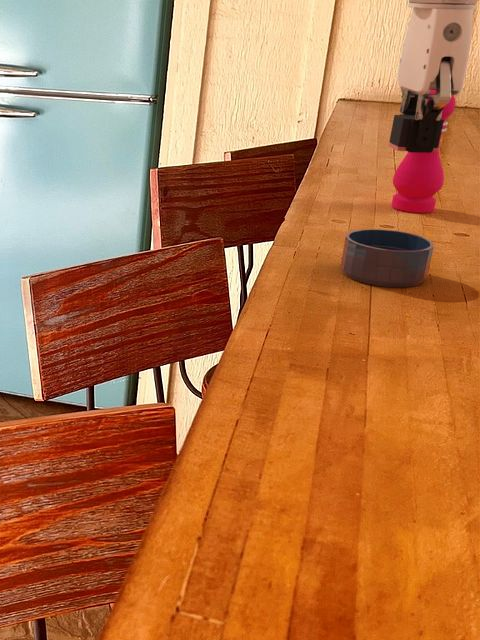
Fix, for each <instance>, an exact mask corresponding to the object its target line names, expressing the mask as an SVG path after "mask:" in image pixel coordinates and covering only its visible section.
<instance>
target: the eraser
mask: <svg viewBox="0 0 480 640" xmlns="http://www.w3.org/2000/svg"><path fill="white" fill-rule="evenodd" d="M412 119H415V115H400V114H394V115H393V120H392V126H391V129H390V130H391V132H390V136H389V140H388V147H390V148H392V149H393V150H395V151H396V152H397V151H398V152H407V151H406V146H407V140H408V135H409V130H410V125H411V120H412ZM443 123H444V120H443V119H440V121H439V124H438V129H437V134H436V139H435V144H434V148H433V151H432V152H437V151H438V146H439V141H440V142H441V140H440V136H441V132H442V127H443ZM439 147H440V146H439Z"/></svg>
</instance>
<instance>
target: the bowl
mask: <svg viewBox="0 0 480 640" xmlns="http://www.w3.org/2000/svg"><path fill="white" fill-rule="evenodd" d="M434 248H435V243H434V242H433V241H432V240H431V239H429V238H426V237H424V236H421V235H418V234H414V233H411V232H405V231H400V230H395V229H394V230H393V229H381V228H362V229H356V230H351V231H349V232H347V233H346V234H345V238H344V244H343V249H342V255H341V261H340V262H341V263H340V269H341V270H342V272H343V274H344V275H345V276H346V277H348V278H349V279H352V280H353V281H356V282H358V283H363V284H366V285H371V286H376V287H384V288H385V287H386V288H410V287H415V286H418V285H419V286H420V284H422V283H423V281H424V280H426V279H428V277H429V276H428V275H429V270H430V267H431V261H432V256H433V253H434Z"/></svg>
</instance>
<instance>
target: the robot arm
mask: <svg viewBox="0 0 480 640" xmlns="http://www.w3.org/2000/svg"><path fill="white" fill-rule="evenodd" d="M477 3H478V0H408V3H407V8H410V9H411V8H412V9H411V14H410V17H409V21H408V24H407V28H406V31H405V36H404V40H403V44H402V50H401V54H400V60H399V64H398V69H397V77H396V78H397V80H396V81H397V84H398V85H399V86H400V91H401V103H400V106H399V115H415V119H412V120H411V125H410V130H409V135H408V140H407V146H406V151H405V152H407V153H408V152H414V153H431V152H432V151H433V148H434V144H435V139H436V134H437V129H438V124H439V121H440V119H441V116H442V110H443V108H444V107H445V106H446V105H447V104H448V103H449V102H450V99H451V95H454V96H457V95H459V94H460V93H461V92H462V91H463V89H464V84H465V79H466V73H467V69H468V63H469V56H470V50H471V44H472V35H473V26H474V25H473V24H474V10H476V8H477ZM430 90H436V94H429V91H430ZM427 99H433V100H429V101H428V102H427ZM426 103H427V104H426Z"/></svg>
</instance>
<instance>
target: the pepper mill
mask: <svg viewBox="0 0 480 640" xmlns="http://www.w3.org/2000/svg"><path fill="white" fill-rule="evenodd" d="M429 94H436V90H430V91H429ZM429 100H433V99H427V102H428V101H429ZM426 104H427V103H426ZM455 109H456V98H455V95H451V99H450V102H449V103H448V104H447V105H446V106H445V107H444V108H443V110H442V116H441V119H443V120H444V123H443V127H442V132H441V136H440V141H439V146H438V151H437V152H431V153H414V152H408V151H407V153H406V155H405V156H404V158H403V159H402V160H401V162H400V163H399V164H398V166H397V168H396V170H395V171H394V174H393V176H392V185H393V187H394V188H395V190H396V191H397V192H396V193H395V194H394V195H392V199H391V204H390V205H391V207H392V208H393V209H394V210H397V211H400V212H405V213H412V214H429V213H432V212H434V211H435V208H436V203H437V199H436V198H435V197H434V196H435V195H436V194H437V193H438V192H440V191H441V189H442V188H443V186H444V179H445V176H444V175H445V174H444V173H445V172H444V168H443V164H442V161H441V157H440V146H441V145H440V144H441V140H442V136H443V134H444V133H446V131H447V130H448V129H447V126H448V124H449V123H448V121H447V119H448V118H450V116H451V115H452V114H454V112H455Z"/></svg>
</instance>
